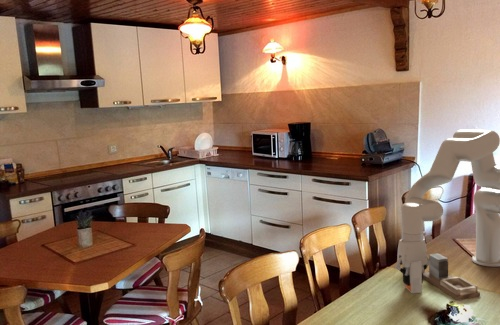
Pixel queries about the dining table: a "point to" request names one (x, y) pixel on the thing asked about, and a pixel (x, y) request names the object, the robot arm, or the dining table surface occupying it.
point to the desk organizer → (449, 279)
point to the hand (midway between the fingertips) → (413, 282)
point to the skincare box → (415, 277)
